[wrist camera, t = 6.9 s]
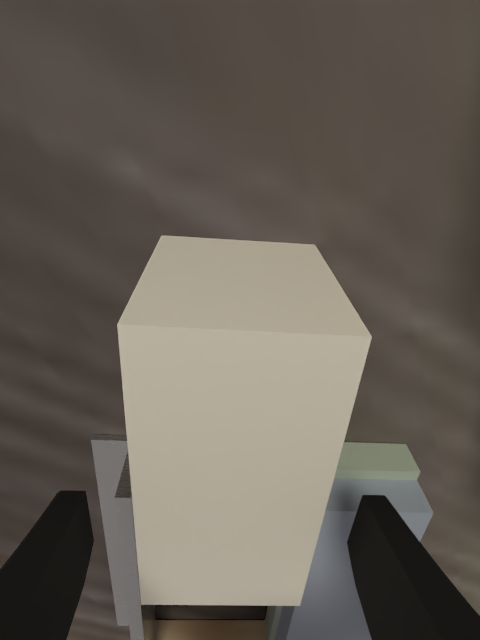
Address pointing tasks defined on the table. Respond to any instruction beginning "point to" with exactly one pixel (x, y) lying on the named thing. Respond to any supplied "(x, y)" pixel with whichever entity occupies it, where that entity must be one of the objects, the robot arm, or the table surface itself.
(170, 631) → the shelf rail
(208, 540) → the cream rectangular block
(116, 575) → the grey panel
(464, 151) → the table surface
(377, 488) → the two-layer flat tile
